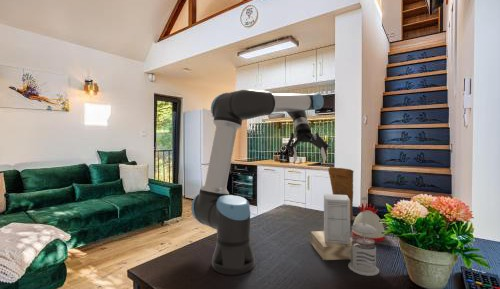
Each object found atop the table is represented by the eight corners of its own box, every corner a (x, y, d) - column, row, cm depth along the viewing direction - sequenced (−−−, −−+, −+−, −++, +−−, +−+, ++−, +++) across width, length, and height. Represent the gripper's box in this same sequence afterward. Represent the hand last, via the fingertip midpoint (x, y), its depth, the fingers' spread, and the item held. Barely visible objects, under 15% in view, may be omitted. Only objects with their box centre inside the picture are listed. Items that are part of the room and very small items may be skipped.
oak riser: (323, 260, 92) (323, 246, 92) (310, 243, 107) (310, 231, 107) (360, 258, 93) (360, 245, 93) (342, 242, 108) (342, 230, 108)
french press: (383, 277, 81) (384, 200, 81) (345, 273, 83) (346, 198, 83) (374, 262, 91) (375, 193, 90) (340, 259, 93) (341, 192, 92)
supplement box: (347, 235, 103) (348, 194, 102) (351, 245, 94) (351, 200, 93) (323, 233, 105) (323, 193, 104) (324, 242, 96) (324, 198, 95)
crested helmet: (353, 228, 125) (353, 198, 125) (384, 233, 119) (385, 201, 119) (350, 238, 113) (350, 204, 113) (384, 244, 107) (385, 209, 106)
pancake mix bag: (347, 222, 134) (348, 169, 133) (326, 212, 152) (327, 166, 151) (358, 221, 136) (358, 169, 135) (336, 211, 154) (336, 165, 153)
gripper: (324, 133, 134) (334, 164, 119) (277, 133, 132) (282, 164, 118) (327, 122, 128) (339, 154, 114) (279, 122, 127) (284, 154, 112)
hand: (310, 159), depth 116 cm, fingers open, 13 cm apart
